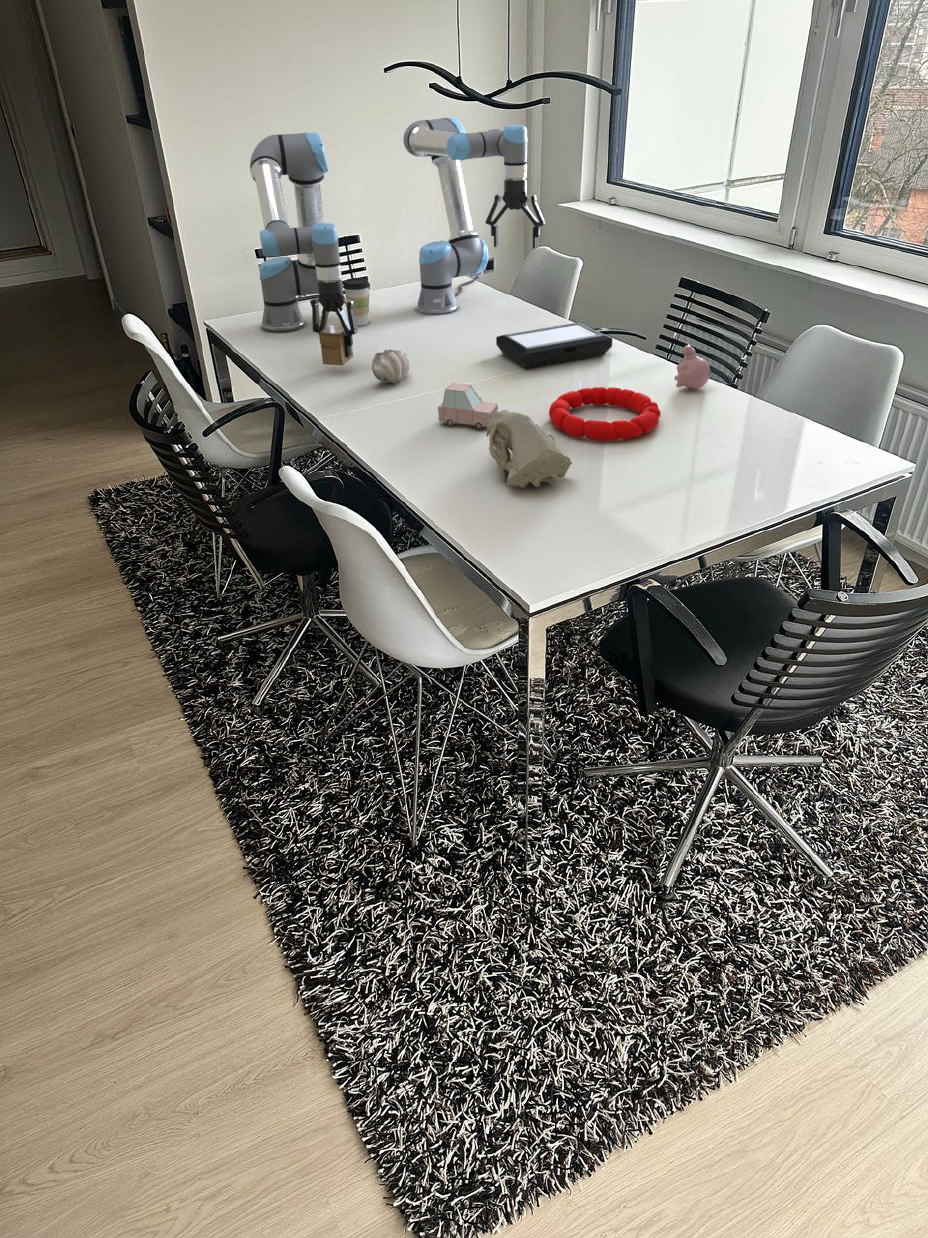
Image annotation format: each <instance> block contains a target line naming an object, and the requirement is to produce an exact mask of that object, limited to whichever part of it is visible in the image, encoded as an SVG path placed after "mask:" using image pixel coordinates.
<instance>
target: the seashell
mask: <svg viewBox="0 0 928 1238" xmlns="http://www.w3.org/2000/svg"><path fill="white" fill-rule="evenodd" d="M410 368H411V362H410V358H409V357H408V354H407V353H403V351H401V350H396V349H384V350H383V352H376V353H375V354H374V356H373V358H372V363H371V371H372V374H373V377H375V378H376V379H377V380H378V381H379V382H380V383H384V384H388V383H389V382H390V383H393V384H396V383H400V382H402V381H403V380H404V378H406V376H407V375H408V373H409V372H410Z"/></svg>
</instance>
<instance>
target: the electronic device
mask: <svg viewBox="0 0 928 1238" xmlns="http://www.w3.org/2000/svg"><path fill="white" fill-rule="evenodd" d="M495 339H496V340H495V341H496V342H495V345H496V347H497V348H498V349H499V351H500V352H501V353H502V355H504V356H505V357H508V358H509V359H511V360H512V361H514V362H515V363H517V364H518V365H521V366H522V367H523V368H524V369H525V370H527V369H530V368H535V367H542V366H546V365H553V364H558V363H565V362H569V361H576V360H580V359H587V358H592V357H597V356H603V355H606V354H607V352H608V351H610V349H611V348H612V347H613V338H612V337H610V336H608V335H606V334H605V333H602V332H601V331H598V330H597V329H594V328H593V327H590V326H588V325H586V324H584V323H583V322H573V323H572V322H571V323H567V324H561V325H554V326H548V327H543V328H537V329H536V328H535V329H531V330H525V331H520V332H519V331H518V332H513V333H507V334H502V335H498V336H496V337H495Z"/></svg>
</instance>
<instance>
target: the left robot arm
mask: <svg viewBox="0 0 928 1238" xmlns="http://www.w3.org/2000/svg"><path fill="white" fill-rule="evenodd" d="M249 170H250V176H251V178H252V180H253V181H254V182H255V186H256V190H257V194H258V200H259V206H260V210H261V217H262V223H263V227H264V229H263V230H262V229H261V230H260V231H259V239H260V245H261V251H262V255H263V256H264V257H272V258H269V259H267V260H264V261H263V262H261V263H260V265H259V266H258V270H259V280H260V285H261V286H260V287H261V292H262V299H263V313H262V319H261V326H262V330H264V331H265V332H271V333H286V332H293V331H296V330H297V331H298V330H300V329H302V328H304V326H305V319H304V317H303V314H302V312H301V310H300V307H299V306H298V305H299V304H298V302H299V301H300V300H301V298H302V297H306V296H309V295H318V297H317V298H316V297H313V298H312V299H310V300H309V303H310V306H311V313H312V314H311V317H312V318H311V319H312V323H311V324H312V332H313V333H317V334H318V336H319V337H318V338H319V339H320V334H319V333H320V332H321V331H322V330H324V329H325V328H326V327H327V325H328V324H327V323H328V319H329V315H330V312H332V313H335V315H336V316H337V317H338V319H339V322H340V325H342V326H343V329H344V331H345V333H346V335H345V336H344V341H345V351H346V357H349V356H351V355H352V354H351V346H352V347H353V345H354V340H353V339H354V338H353V335H356V333H358V326H357V324H356V319H355V314H354V309H353V306H354V301H353V300H347V299H346V297H345V294H344V288H343V284H344V283H343V279H342V277H343V276H342V267H341V259H340V247H339V235H338V229H337V226H336V224H334V223H329V222H324V216H323V215H324V214H323V203H322V190H321V183H322V182H324V180H325V174H326V173H328V172H329V165H328V160H327V155H326V152H325V147H324V143H323V139H322V137H321V135H320V133H317V132H307V131H305V132H297V133H285V134H283V133H281V134H270V135H268V136H265V137H264V138H263V139H261V140H260V141H259V143H257V145H256V146H255V148H254V149H253V151H252V154H251V156H250V161H249ZM282 176H287V177H288V180H289V182H290V183H292V184H293V188H294V197H295V198H294V199H295V207H296V216H297V227H290V222H289V217H288V213H287V208H286V202H285V198H284V193H283V188H282V183H281V178H282ZM291 256H297V260H292V258H291ZM344 305H345V308H346V313H345V309H344ZM320 306H321V307H322V310H321V318H320ZM346 314H347V316H346ZM319 343H320V342H319ZM320 345H321V343H320Z"/></svg>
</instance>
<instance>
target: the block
mask: <svg viewBox="0 0 928 1238" xmlns="http://www.w3.org/2000/svg"><path fill="white" fill-rule="evenodd" d="M319 334H320V338H319V343H321V344H320V349H321V358H322V365H327V366H341V367H343V366H344V365H346V364H347V363H348V362H350V361H351V359H353V358H354V349H353V345H352V346H351V354H352V355H351V356H349V357H346V351H345V341H344V336H345V335H346V333H345V331H344V329H343V326H342V324H329V325H328V326H326V328H325V329H324V330H322V331H321V332H320V333H319ZM319 334H318V335H319Z"/></svg>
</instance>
